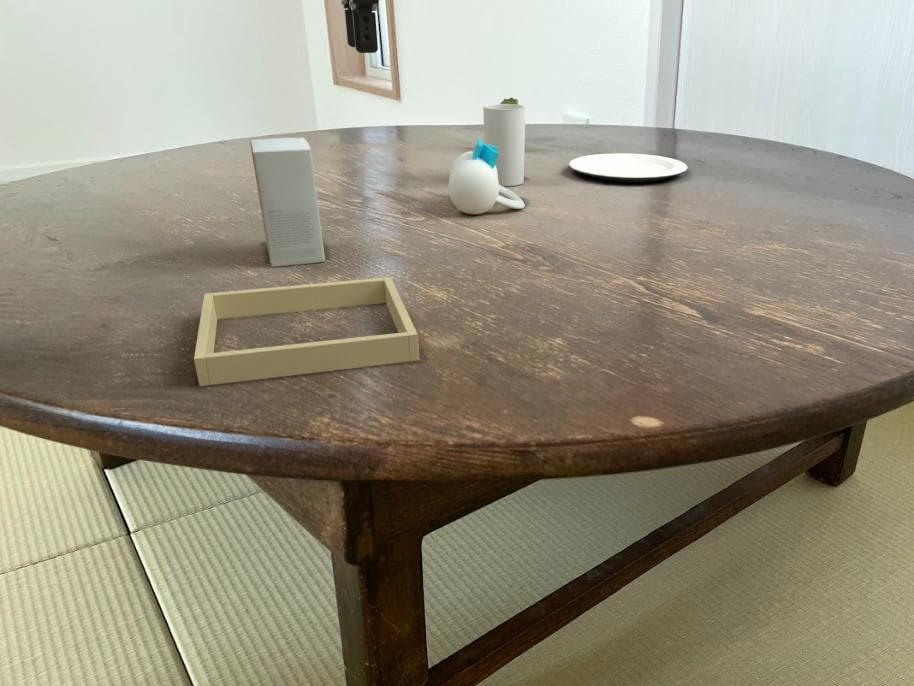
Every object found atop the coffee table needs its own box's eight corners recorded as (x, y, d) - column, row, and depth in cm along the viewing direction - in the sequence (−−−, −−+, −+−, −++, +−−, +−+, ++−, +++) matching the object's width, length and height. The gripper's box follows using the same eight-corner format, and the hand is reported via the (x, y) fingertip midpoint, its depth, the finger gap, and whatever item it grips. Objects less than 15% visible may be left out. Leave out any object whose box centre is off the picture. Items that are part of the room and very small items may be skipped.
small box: (266, 248, 98) (249, 138, 92) (319, 244, 100) (305, 136, 94) (269, 267, 92) (251, 151, 86) (326, 262, 94) (312, 148, 88)
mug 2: (464, 144, 107) (465, 130, 118) (439, 207, 111) (443, 188, 121) (543, 180, 110) (537, 163, 120) (517, 239, 113) (514, 218, 124)
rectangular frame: (200, 392, 63) (193, 358, 62) (209, 322, 77) (204, 293, 75) (420, 366, 68) (417, 334, 67) (393, 304, 81) (390, 276, 80)
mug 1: (531, 185, 131) (531, 108, 126) (493, 188, 129) (491, 110, 123) (508, 173, 140) (508, 100, 134) (472, 176, 137) (470, 102, 132)
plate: (687, 164, 148) (688, 155, 147) (686, 189, 130) (687, 178, 129) (576, 159, 151) (576, 150, 150) (559, 183, 133) (560, 172, 132)
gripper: (303, -126, 82) (321, 45, 90) (311, -146, 70) (331, 55, 78) (377, -123, 84) (388, 45, 92) (396, -141, 72) (408, 54, 80)
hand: (362, 49), depth 85 cm, fingers open, 8 cm apart
